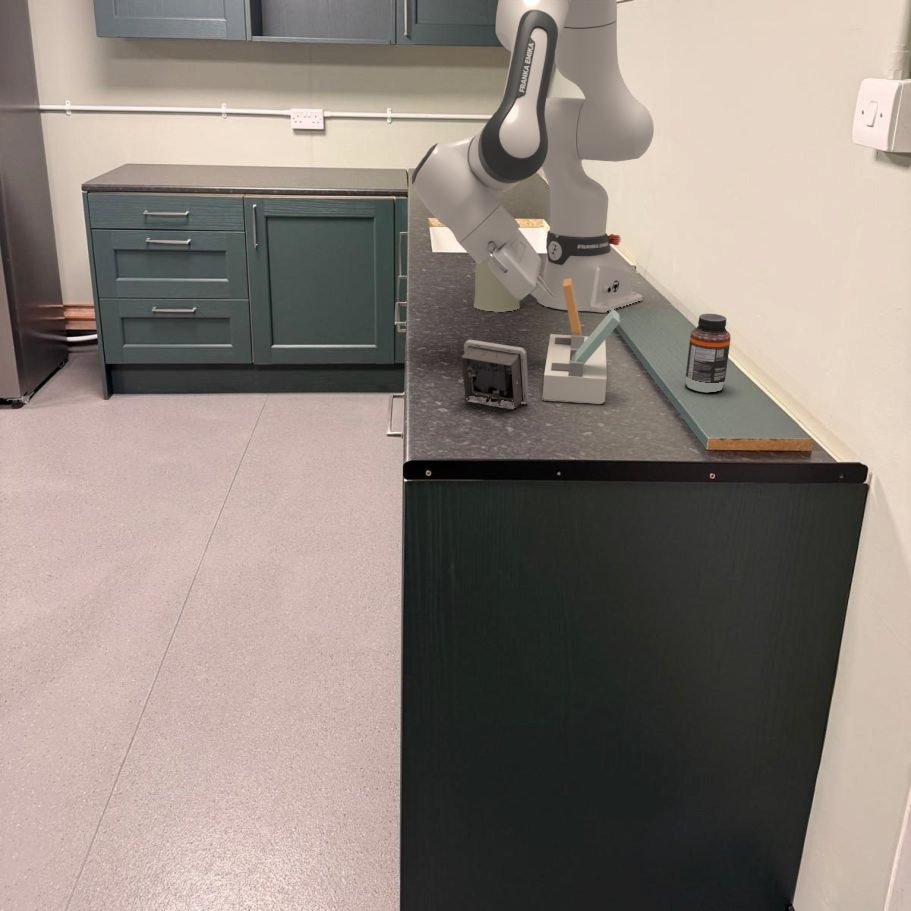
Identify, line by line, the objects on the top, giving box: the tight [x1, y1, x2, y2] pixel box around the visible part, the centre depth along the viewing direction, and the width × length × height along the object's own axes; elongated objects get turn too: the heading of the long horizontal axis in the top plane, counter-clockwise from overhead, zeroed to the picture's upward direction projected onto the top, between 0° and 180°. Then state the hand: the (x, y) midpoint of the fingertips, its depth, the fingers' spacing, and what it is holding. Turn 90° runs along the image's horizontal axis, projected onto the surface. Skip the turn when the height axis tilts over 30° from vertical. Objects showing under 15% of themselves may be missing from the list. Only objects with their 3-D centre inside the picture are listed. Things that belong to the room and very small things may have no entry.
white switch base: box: [542, 324, 608, 402], centre depth 153 cm, size 9×28×6 cm, turn 172°
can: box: [473, 261, 521, 313], centre depth 190 cm, size 9×9×12 cm
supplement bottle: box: [685, 313, 732, 383], centre depth 147 cm, size 6×6×11 cm
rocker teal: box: [572, 309, 621, 365], centre depth 141 cm, size 1×5×10 cm
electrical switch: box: [460, 339, 530, 408], centre depth 138 cm, size 9×5×9 cm, turn 65°
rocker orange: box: [563, 278, 582, 336], centre depth 154 cm, size 1×5×10 cm, turn 172°
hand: (550, 302), depth 154 cm, fingers closed
